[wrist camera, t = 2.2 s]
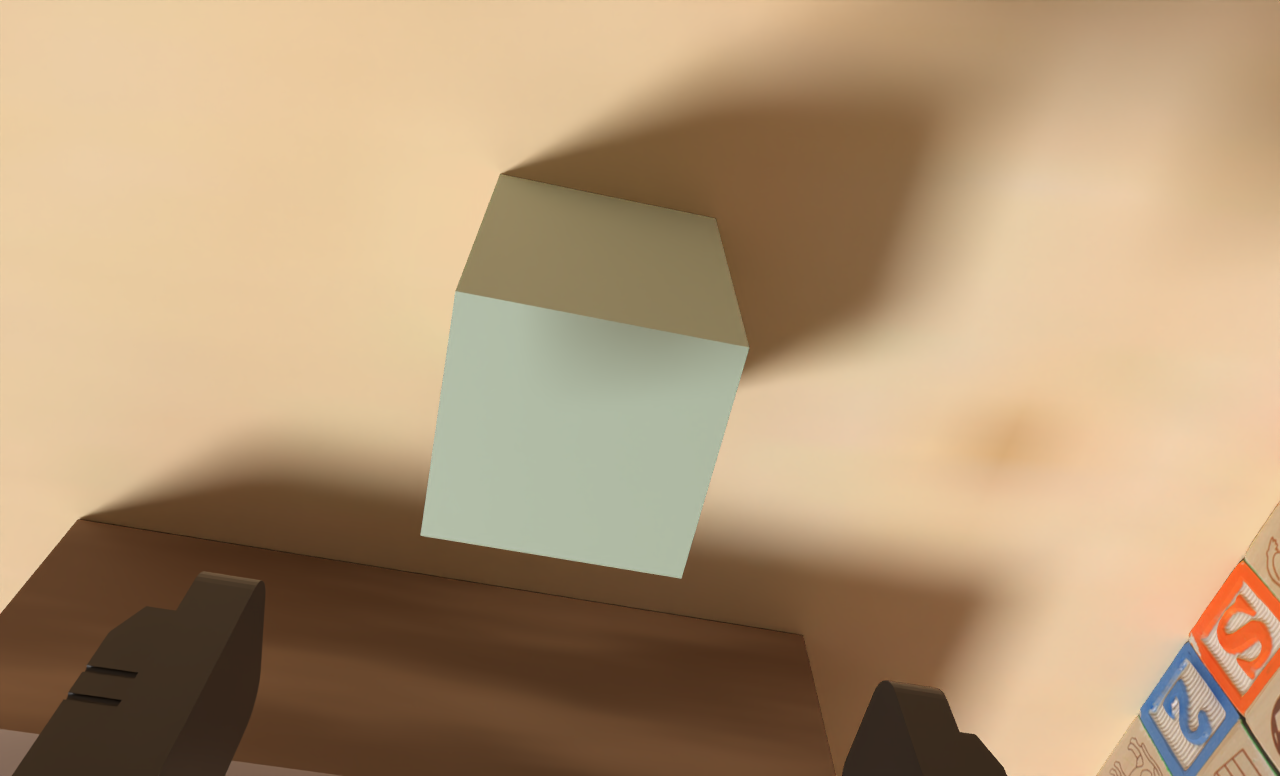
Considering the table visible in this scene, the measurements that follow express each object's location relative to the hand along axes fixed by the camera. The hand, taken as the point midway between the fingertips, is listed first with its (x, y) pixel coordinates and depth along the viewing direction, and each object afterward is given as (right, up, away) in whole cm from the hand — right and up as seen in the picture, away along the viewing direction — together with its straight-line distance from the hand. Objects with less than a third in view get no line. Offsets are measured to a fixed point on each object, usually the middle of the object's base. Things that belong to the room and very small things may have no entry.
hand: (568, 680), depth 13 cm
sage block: (0, +6, +11) cm, 13 cm away
